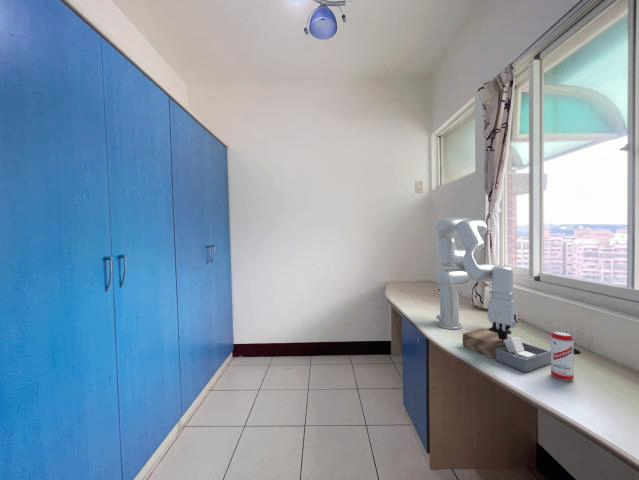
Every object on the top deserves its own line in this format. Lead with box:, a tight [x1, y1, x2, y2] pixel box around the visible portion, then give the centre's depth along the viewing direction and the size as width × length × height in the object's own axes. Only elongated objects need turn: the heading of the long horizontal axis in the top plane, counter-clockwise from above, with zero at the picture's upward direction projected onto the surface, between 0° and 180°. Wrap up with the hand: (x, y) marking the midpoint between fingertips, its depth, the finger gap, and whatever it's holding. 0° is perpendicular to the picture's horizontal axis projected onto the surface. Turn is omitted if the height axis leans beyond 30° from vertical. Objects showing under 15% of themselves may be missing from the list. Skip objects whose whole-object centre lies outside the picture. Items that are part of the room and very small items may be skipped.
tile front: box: [515, 350, 536, 359], centre depth 113 cm, size 5×5×4 cm
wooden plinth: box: [462, 328, 512, 361], centre depth 126 cm, size 16×14×6 cm
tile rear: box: [504, 336, 524, 353], centre depth 117 cm, size 5×5×4 cm
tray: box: [495, 341, 551, 374], centre depth 114 cm, size 11×16×5 cm
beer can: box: [550, 330, 575, 382], centre depth 102 cm, size 6×6×16 cm
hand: (502, 338), depth 121 cm, fingers closed
